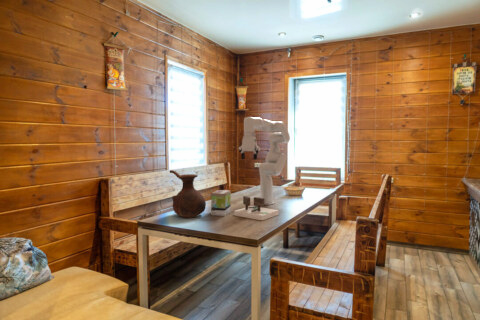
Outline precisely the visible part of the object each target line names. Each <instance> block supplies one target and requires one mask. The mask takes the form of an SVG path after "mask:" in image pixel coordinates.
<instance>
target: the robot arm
mask: <svg viewBox="0 0 480 320" xmlns="http://www.w3.org/2000/svg"><path fill="white" fill-rule="evenodd" d="M256 131H261V132H268V133H270V134H269V136H268V137H269V138H268V140H269V150H268V152H267V154H266V157H265V162H262V163H260V164H259V166H258V171H259V177H260V180H259V181H260V187H259V188H260V196H259V198H264V206H265V205H267V206H268V205H269V206H270V205H275V201H274V200H276V196H274V195H273V192H274V190H273V189H274V187H273V186H274V185H273V178H272V176H279V175H281V174H282V171H283V169H284V167H285V164H286V162H287V157H286V154H285V153H283V152H281V148H280V146H279V145H278V144H288V143H289V142H290V139H291V137H290V133H289V131H288V128H287V126H286V125H285V123H284V122H283V121H272V120H269V119H262V118H261V117H253V116H247V117H244V118H243V136H242V140H241V145H240V146H239V147H238V150H239V151H238V152H240V154H241V155H240V156H241V160H245V157H246V155H245V154H246V153H245V152H253V160H255V161H256V160H257V159H258V153H259V152H260V150H261V147H260V146H258V144H257V137H256V136H257V133H256Z"/></svg>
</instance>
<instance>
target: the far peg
mask: <svg viewBox="0 0 480 320" xmlns="http://www.w3.org/2000/svg"><path fill="white" fill-rule="evenodd" d="M242 203H243V205H245V206H244V208H245V209H246V210H247V209H248V208H258V206H255V207H250V206H251V197H249V196H248V195H243V196H242Z"/></svg>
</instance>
